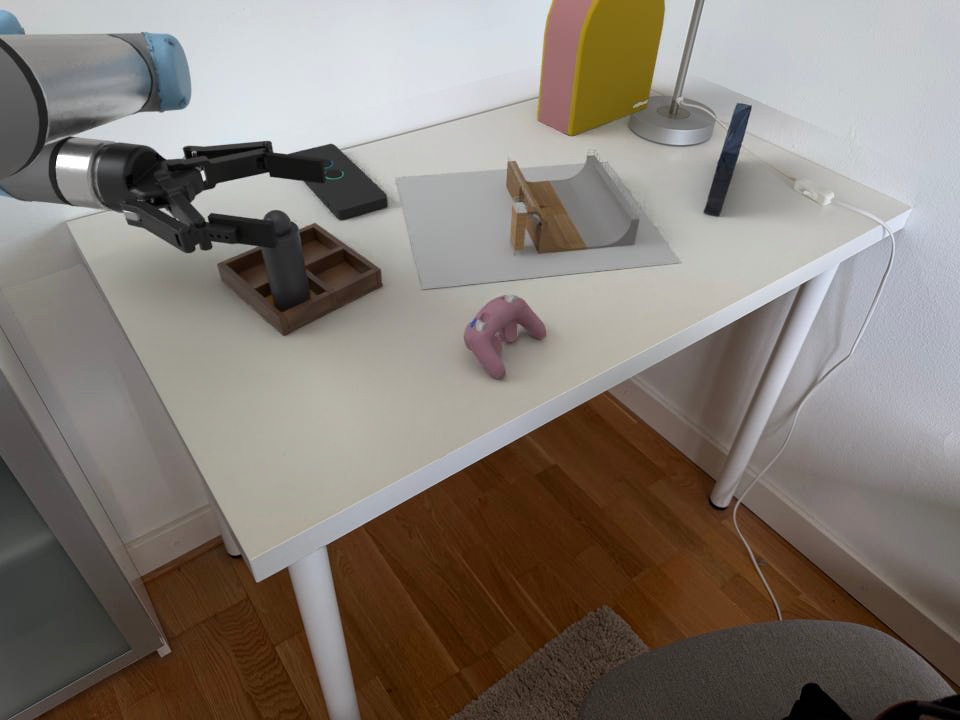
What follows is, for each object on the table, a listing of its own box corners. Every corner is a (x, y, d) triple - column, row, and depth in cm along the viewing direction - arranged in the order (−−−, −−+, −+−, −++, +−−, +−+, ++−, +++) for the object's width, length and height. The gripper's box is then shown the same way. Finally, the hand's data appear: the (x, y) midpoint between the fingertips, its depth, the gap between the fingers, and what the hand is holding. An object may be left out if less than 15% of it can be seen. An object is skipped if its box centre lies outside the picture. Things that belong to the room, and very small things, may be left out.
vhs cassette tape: (719, 217, 101) (738, 154, 94) (699, 213, 102) (716, 150, 95) (737, 164, 113) (755, 105, 106) (719, 161, 114) (736, 101, 107)
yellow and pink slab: (612, 91, 135) (637, -63, 117) (648, 107, 130) (680, -53, 112) (535, 118, 124) (548, -46, 106) (571, 136, 119) (591, -34, 101)
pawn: (286, 318, 80) (267, 227, 72) (266, 300, 83) (245, 210, 74) (318, 302, 83) (303, 212, 74) (298, 286, 85) (281, 197, 76)
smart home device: (333, 141, 112) (389, 195, 100) (334, 151, 113) (390, 206, 101) (284, 153, 108) (336, 210, 96) (286, 163, 110) (338, 221, 97)
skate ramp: (681, 262, 92) (694, 213, 87) (422, 289, 86) (420, 238, 81) (607, 161, 113) (614, 116, 108) (395, 177, 107) (392, 131, 102)
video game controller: (521, 334, 83) (502, 283, 80) (551, 335, 80) (533, 281, 77) (473, 380, 77) (450, 326, 74) (504, 383, 74) (481, 327, 71)
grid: (283, 336, 79) (279, 318, 77) (221, 280, 87) (216, 263, 85) (382, 286, 87) (381, 269, 85) (317, 238, 94) (315, 222, 92)
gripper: (183, 158, 87) (344, 177, 84) (57, 270, 69) (256, 299, 66) (166, 99, 82) (337, 118, 79) (25, 203, 64) (240, 232, 61)
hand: (300, 200), depth 72 cm, fingers open, 13 cm apart
